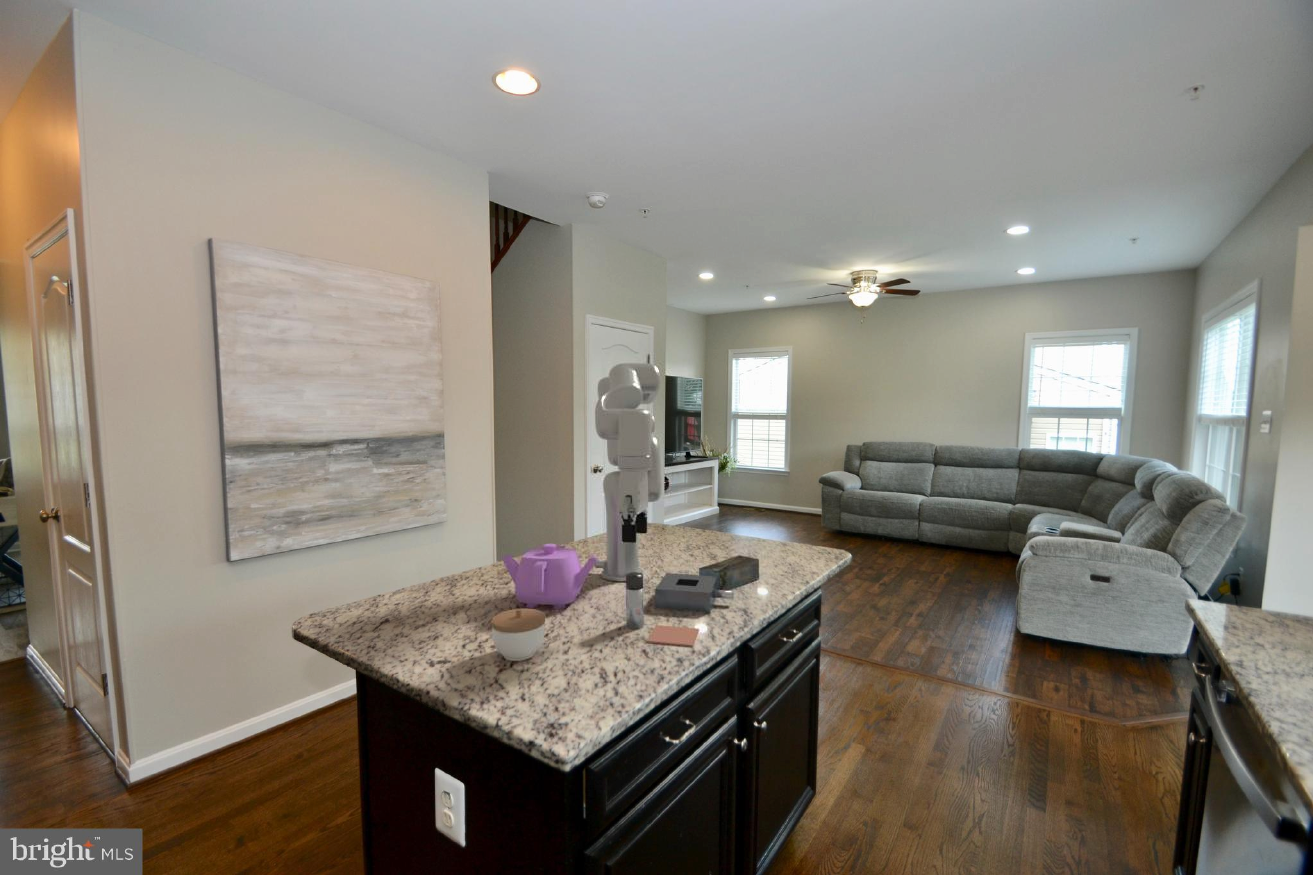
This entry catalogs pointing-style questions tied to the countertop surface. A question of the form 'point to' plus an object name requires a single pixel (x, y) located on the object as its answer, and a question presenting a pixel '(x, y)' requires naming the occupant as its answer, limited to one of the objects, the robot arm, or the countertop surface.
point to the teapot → (548, 575)
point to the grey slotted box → (689, 592)
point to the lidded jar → (518, 633)
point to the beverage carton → (733, 571)
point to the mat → (673, 635)
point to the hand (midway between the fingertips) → (635, 537)
